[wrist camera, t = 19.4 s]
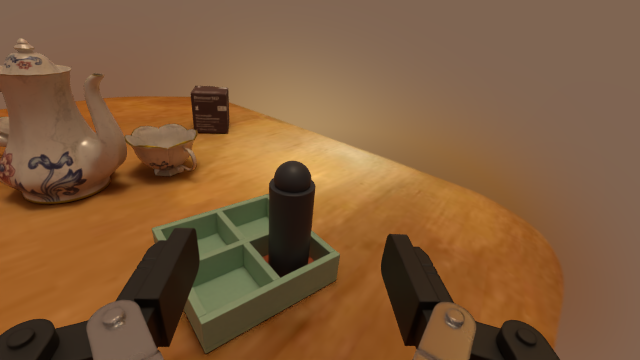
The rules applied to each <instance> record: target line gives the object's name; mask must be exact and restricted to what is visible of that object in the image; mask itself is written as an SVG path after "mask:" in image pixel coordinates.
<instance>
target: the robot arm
mask: <svg viewBox="0 0 640 360" xmlns="http://www.w3.org/2000/svg"><path fill="white" fill-rule="evenodd" d="M199 263H200V256H199V248H198V240H197V233H196V229H195V228H174V230H173V231H172V233H171V235H170V236H169V238H168V240H159V241H158V242H157V243H155V244H154V245H153V246H151V247H150V248H149V249H148V251H147V252H146V254H145V255H144V257H143V258H142V261H141V262H140V263H139V265H138V266H137V269H135V271H134V273H133V274H132V276H131V277H130V279H129V281H128V282H127V284H126V285H125V287H124V288H123V290H122V292H121V293H120V295H119V296H118V298H117V299H116V301H115V302H112V303H109V304H107V305H105V306H103V307H102V308H100V309H99V310H97V311H96V312H95V313H94V314H93V315H92V316H91V318H90V319H89V320H88V321H84V322H81V323H77V324H73V325H68V326H64V327H60V328H56V329H55V327H54V325H53V324H52V322H50V321H49V320H46V319H34V320H29V321H26V322H23V323H20V324H18V325H16V326H14V327H12V328H10V329H9V330H7V331H6V332H4V333H3V334H2V335H0V360H164V359H163V357H162V355H161V353H160V351H159V350H157V348H158V347H169V346H170V343H171V341H172V338H173V335H174V333H175V330H176V328H177V325H178V322H179V320H180V317H181V315H182V312H183V309H184V307H185V304H186V302H187V299H188V296H189V294H190V291H191V289H192V286H193V284H194V281H195V278H196V276H197V273H198V270H199ZM381 273H382V277H383V280H384V283H385V286H386V289H387V292H388V295H389V298H390V302H391V305H392V308H393V311H394V314H395V317H396V320H397V323H398V326H399V329H400V332H401V335H402V338H403V341H404V345H405V346H415V347H416V349H417V350H416V352H415V355H414V357H413V360H560V359H559V357H558V356H557V355H556V353H555V352H554V350H553V349H552V348H551V346H550V345H549V343H548V342H547V340H546V339H545V338H544V337H543V335H542V334H541V333H540V332H538V331H537V330H536V329H535V328H533V327H532V326H530V325H528V324H526V323H524V322H521V321H517V320H508V321H506V322H504V323H503V325H502V327H501V328H497V327H493V326H490V325H486V324H483V323H480V322H477V321H475V320H474V318H473V317H472V315H471V314H470V313H469V312H468V311H467V310H466V309H464V308H463V307H461V306H459V305H457V304H455V303H454V302H453V300H452V298H451V297H450V295H449V293H448V291H447V289H446V287H445V286H444V284H443V282H442V280H441V278H440V276H439V275H438V274H437V271H436V269H435V267H433V263H432V262H431V260H430V258H429V256H428V255H427V254H426V253H425V252H424V251H423V250H422V249H421V248H420V247H413V245H412V243H411V241H410V239H409V237H408V236H407V235H401V234H389V235H388V236H387V240H386V244H385V248H384V253H383V257H382V261H381Z"/></svg>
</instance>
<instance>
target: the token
mask: <svg viewBox="0 0 640 360" xmlns="http://www.w3.org/2000/svg"><path fill="white" fill-rule="evenodd" d="M314 195H315V184H314V182H313V181H312V180H311V174H310V172H309V170H308V168H307V167H306V166H305V165H304V164H302V163H300V162H297V161H288V162H285V163H283V164H282V165H280V166H279V167H278V169H277V170H276V172H275V176H274V178H273V179H272V180H271V181H270V183H269V246H268V264H269V265H270V266H271V268H272V269H273V270H274V271H275V272H276V273H277V274H278V276H279V277H280V278H281V277H283V276H285V275H287V274H289V273H291V272H293V271H295V270H297V269H299V268H301V267H304V266H306V265H308V261H309V250H310V239H311V228H312V217H313V206H314Z"/></svg>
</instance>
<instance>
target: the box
mask: <svg viewBox="0 0 640 360" xmlns="http://www.w3.org/2000/svg"><path fill="white" fill-rule="evenodd" d="M191 102H192V112H193V123H194V130H197V131H198V133H228V127H229V100H228V88H221V87H210V86H195V88H194V89H193V90H192V92H191Z"/></svg>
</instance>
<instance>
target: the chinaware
mask: <svg viewBox="0 0 640 360" xmlns="http://www.w3.org/2000/svg"><path fill="white" fill-rule="evenodd" d="M14 48H15V49H16V50H17V51H18V52H17V53H12V54H9V55H8V56H7V57H6V59H5V62H4V66H0V92H2V94H3V97H4V99H5V102H6V106H7V109H8V115H9V117H0V146H2V147H6V149H5V151H4V154H3V156H2V158H1V160H0V181H1V182H2V183H4V184H6V185H8V186H10V187H12V188H15V189H17V190H20V191H22V192H23V193H22V195H23V197H24V199H26V200H27V201H29V202H32V203H37V204H59V203H66V202H72V201H76V200H80V199H83V198H86V197H89V196H92V195H94V194H96V193H98V192H100V191H102V190H103V189H104V188H106V187H107V186H108V185H109V183H110V181H111V178H110V175H111V174H112V173H113V172H114V171H115V170H116V169H117V168H118V167H119V166H120V165H121V164H122V163H123V162H124V161H125V159H126V156H127V147H126V143H127V144H129V145H131V146H132V148H133V149H134V151H135V153H136V155H137V157H138V158H139V159H140V160H141V161H142V162H143V163H144V164H146V165H147V166H149V167H151V168H154V173H155V175H160V176H171V175H174V174H177V173H181V172H183V171H184V169H185V170H188V171H192V170H194V169H195V167H196V157H195V155H194V153H193V152H192V151H191V150H192V145H193V141H194V140H195V138H196V137H197V134H198V131H197V130H194V129H190V130H187V129H186V128H184V127H183V126H181V125H178V124H167V125H164V126H162V127H159V129H158V128H157V127H152V126H140V127H138V128H136V129H135V130H134V131H133V132H132V134H131V135H125V136H124V135H123V133H122V131H121V129H120V127H119V125H118V124H117V122H116V120H115V119H114V117H113V116H112V114H111V112H110V110H109V109H108V107H107V105H106V103H105V102H104V100H103V98H102V96H101V94H100V91H99V85H100V82H101V80H102V79H103V77H104V74H99V73H94V74H92V75H90V76H89V77H88V78H87V79H86V81H85V83H84V95H85V100H86V103H87V106H88V109H89V112H90V115H91V117H92V120H93V123H94V126H95V129H96V133H97V134H96V133H95V132H94V131H93V130H92V129H91V128H90V127H89V125H88V124H87V122H86V121H85V120H84V118H83V116H82V115H81V113H80V112H79V110H78V108H77V106H76V103H75V101H74V98H73V95H72V91H71V87H70V70H71V68H70V67H67V66H60V65H55V64H53V63H52V61H51V60H50V59H49V58H47V57H46V56H45V55H43V54H39V53H34V52H33V50H34V47H32V46H31V45H29V44H28V42H27V41H26V40H24V39H19V40H18V41H17V45H16V46H15V47H14ZM189 156H191V158H192V161H193V167H192V168H191V169H190V168H187V167H185V166H184V165H182V164H183V163H184V162H185V161H186V160H187V159H188V157H189ZM183 168H184V169H183Z"/></svg>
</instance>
